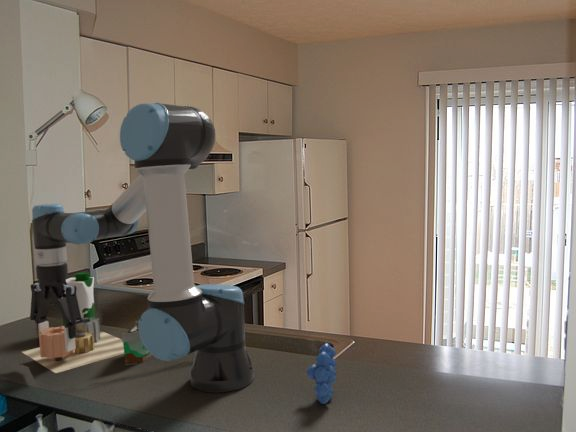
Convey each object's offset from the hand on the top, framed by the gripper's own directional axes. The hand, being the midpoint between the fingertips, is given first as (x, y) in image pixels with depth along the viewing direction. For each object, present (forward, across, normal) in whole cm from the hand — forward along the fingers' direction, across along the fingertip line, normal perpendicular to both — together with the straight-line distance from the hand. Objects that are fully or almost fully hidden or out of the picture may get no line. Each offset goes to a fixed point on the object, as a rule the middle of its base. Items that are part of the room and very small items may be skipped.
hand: (57, 348), depth 146 cm
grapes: (+5, +73, +4) cm, 73 cm away
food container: (+5, +21, +9) cm, 23 cm away
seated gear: (+3, -5, +15) cm, 16 cm away
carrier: (+5, 0, +8) cm, 9 cm away
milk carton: (+5, -13, +21) cm, 25 cm away
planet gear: (+1, 0, 0) cm, 1 cm away
